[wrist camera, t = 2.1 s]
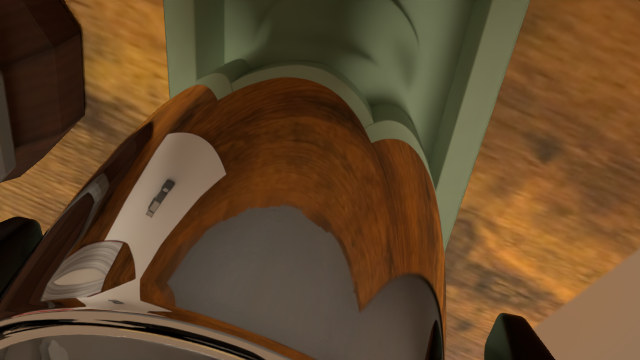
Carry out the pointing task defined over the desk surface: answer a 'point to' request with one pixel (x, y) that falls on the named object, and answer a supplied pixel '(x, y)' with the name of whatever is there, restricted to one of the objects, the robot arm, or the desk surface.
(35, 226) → the robot arm
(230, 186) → the beer glass
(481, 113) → the holder
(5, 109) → the mug
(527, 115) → the desk surface
